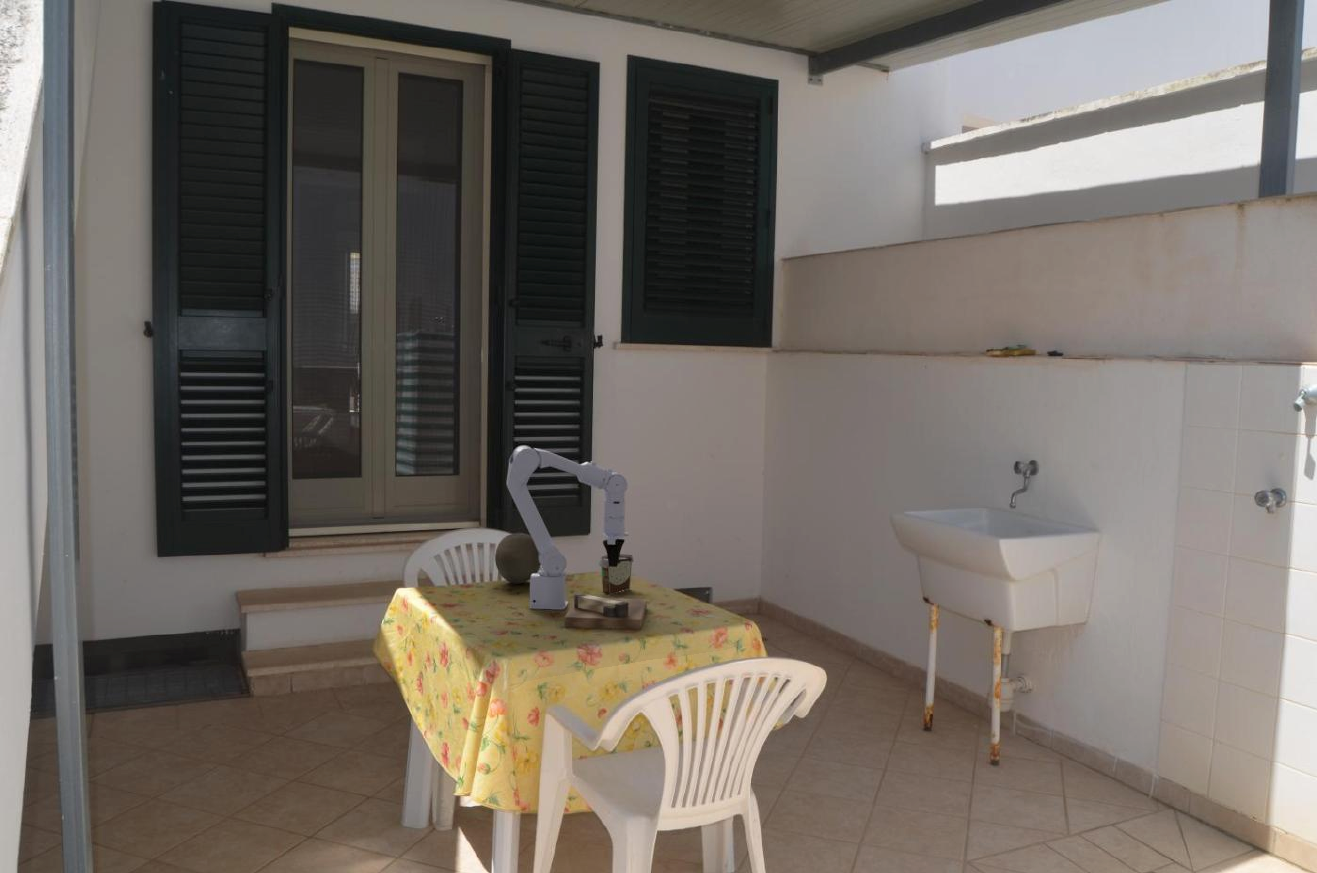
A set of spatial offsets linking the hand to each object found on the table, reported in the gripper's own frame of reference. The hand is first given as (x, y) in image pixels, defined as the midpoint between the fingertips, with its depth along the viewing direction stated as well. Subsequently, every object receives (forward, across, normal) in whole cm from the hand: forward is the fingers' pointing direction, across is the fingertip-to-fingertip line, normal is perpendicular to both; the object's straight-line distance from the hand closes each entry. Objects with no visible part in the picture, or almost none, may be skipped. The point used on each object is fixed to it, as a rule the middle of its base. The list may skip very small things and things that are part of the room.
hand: (613, 566), depth 289 cm
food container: (+11, +16, +2) cm, 19 cm away
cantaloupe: (+11, +21, +30) cm, 38 cm away
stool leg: (+8, -19, +2) cm, 21 cm away
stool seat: (+10, -15, 0) cm, 18 cm away
